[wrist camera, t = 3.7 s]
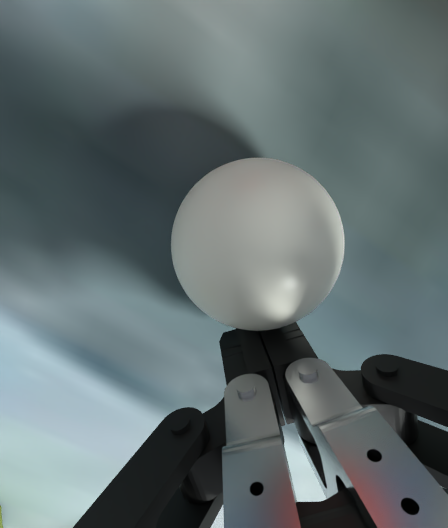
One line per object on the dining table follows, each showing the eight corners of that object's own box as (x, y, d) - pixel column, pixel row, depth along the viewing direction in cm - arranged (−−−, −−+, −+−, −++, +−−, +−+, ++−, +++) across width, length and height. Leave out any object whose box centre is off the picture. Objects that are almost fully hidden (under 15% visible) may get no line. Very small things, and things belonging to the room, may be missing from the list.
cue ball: (309, 229, 15) (312, 106, 11) (362, 339, 11) (398, 218, 7) (188, 258, 15) (144, 147, 11) (202, 376, 11) (146, 278, 7)
